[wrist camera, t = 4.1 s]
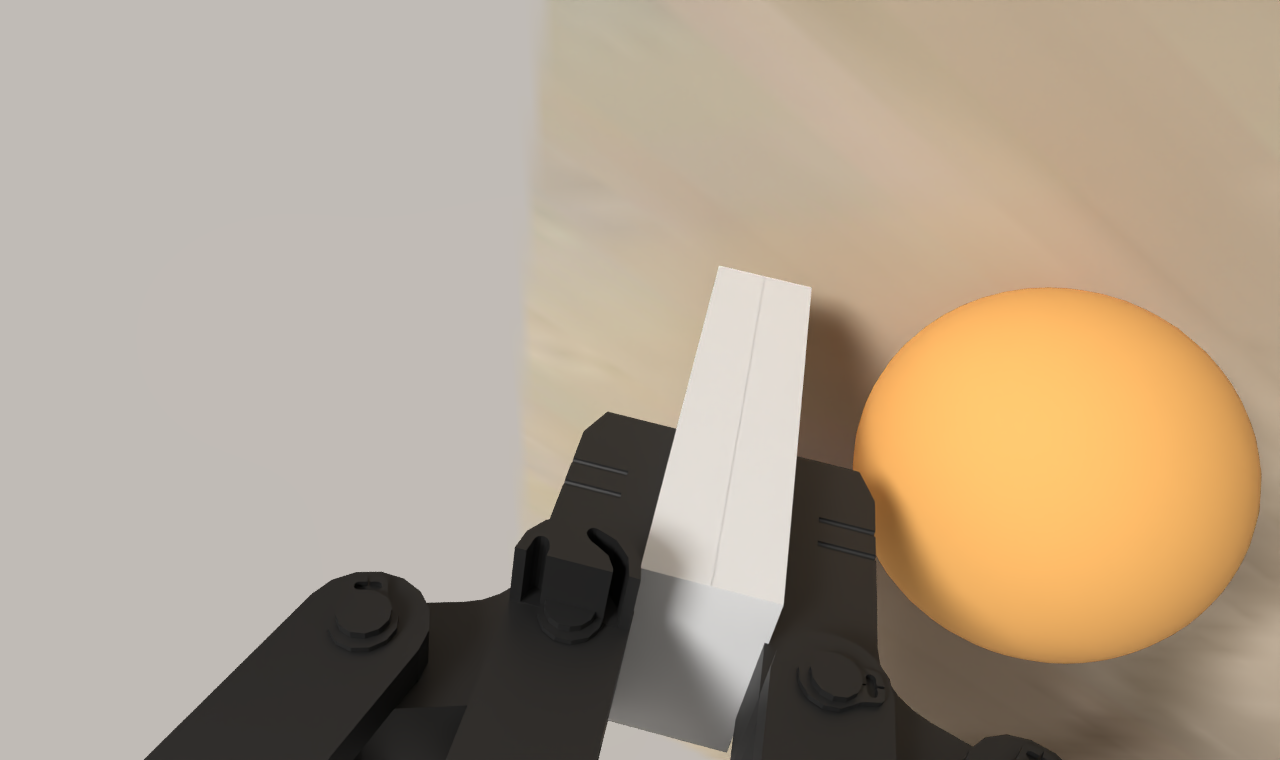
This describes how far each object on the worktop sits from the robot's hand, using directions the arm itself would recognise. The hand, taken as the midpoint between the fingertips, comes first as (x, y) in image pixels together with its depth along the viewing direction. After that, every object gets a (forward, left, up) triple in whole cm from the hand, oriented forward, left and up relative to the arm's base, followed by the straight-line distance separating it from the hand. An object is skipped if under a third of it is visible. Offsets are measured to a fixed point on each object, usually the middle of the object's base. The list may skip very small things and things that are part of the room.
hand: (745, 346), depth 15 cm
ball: (-5, 0, +1) cm, 5 cm away
